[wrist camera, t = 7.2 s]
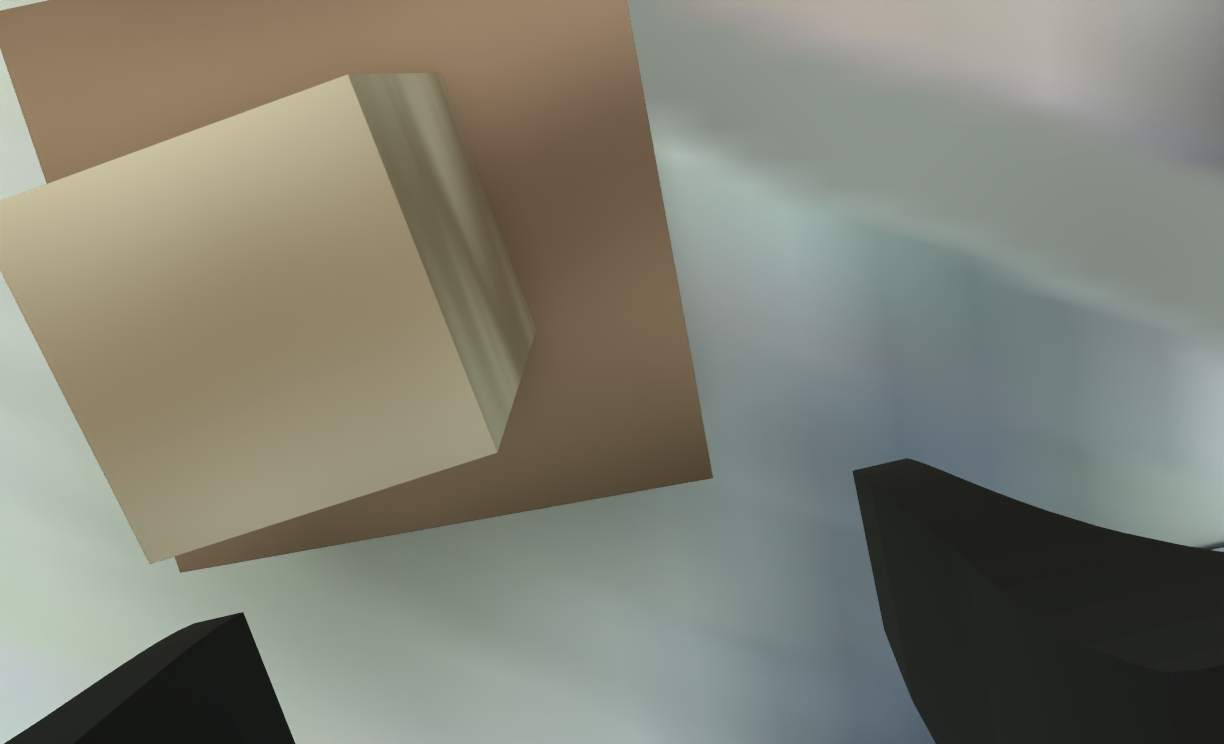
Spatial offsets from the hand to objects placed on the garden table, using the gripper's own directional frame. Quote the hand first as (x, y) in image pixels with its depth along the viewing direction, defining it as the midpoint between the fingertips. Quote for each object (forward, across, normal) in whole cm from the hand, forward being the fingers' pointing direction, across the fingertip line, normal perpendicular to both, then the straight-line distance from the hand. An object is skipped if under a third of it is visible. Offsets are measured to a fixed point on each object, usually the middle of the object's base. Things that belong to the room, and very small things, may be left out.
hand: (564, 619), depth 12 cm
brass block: (+7, +3, -4) cm, 8 cm away
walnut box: (+11, +3, -4) cm, 12 cm away
